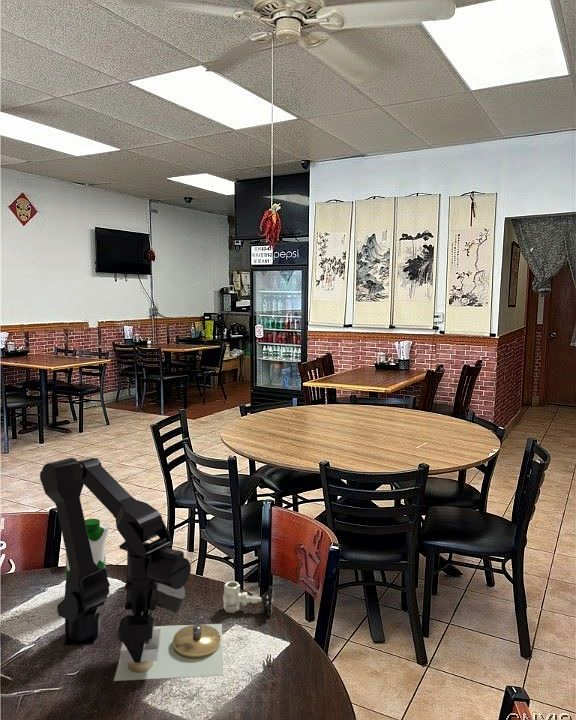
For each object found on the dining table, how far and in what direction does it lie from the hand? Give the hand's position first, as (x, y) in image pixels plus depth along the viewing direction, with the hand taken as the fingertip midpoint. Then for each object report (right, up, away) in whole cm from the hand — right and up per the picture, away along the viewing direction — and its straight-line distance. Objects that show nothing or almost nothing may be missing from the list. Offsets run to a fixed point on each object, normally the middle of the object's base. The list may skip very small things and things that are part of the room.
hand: (140, 647), depth 112 cm
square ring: (0, -1, 0) cm, 1 cm away
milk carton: (-21, -1, +26) cm, 33 cm away
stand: (0, -4, 0) cm, 4 cm away
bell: (+10, -3, +8) cm, 13 cm away
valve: (+20, -3, +22) cm, 30 cm away
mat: (+5, -4, +6) cm, 9 cm away
